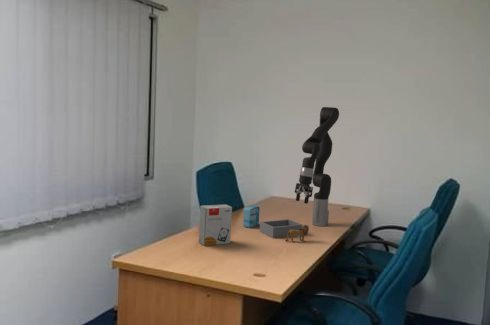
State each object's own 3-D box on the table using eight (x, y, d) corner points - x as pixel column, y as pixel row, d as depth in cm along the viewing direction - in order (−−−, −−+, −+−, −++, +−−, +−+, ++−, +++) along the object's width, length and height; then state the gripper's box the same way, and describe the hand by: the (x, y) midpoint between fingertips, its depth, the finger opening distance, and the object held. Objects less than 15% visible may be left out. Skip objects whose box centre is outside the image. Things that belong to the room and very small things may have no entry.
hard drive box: (203, 246, 240) (205, 208, 238) (198, 242, 247) (199, 205, 244) (230, 243, 247) (232, 206, 245) (224, 239, 254) (226, 203, 252)
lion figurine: (305, 238, 263) (306, 223, 262) (310, 241, 258) (311, 225, 257) (282, 241, 256) (283, 225, 255) (287, 243, 251) (288, 227, 250)
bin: (288, 228, 284) (288, 219, 283) (302, 234, 271) (302, 224, 271) (259, 231, 274) (260, 221, 273) (272, 238, 261) (273, 227, 260)
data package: (249, 228, 280) (250, 209, 279) (242, 227, 283) (243, 208, 281) (258, 224, 291) (259, 206, 289) (252, 223, 293) (253, 205, 292)
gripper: (318, 177, 271) (313, 205, 271) (304, 174, 283) (299, 200, 284) (308, 176, 267) (303, 203, 268) (294, 172, 279) (289, 199, 280)
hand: (301, 202), depth 276 cm, fingers open, 8 cm apart
